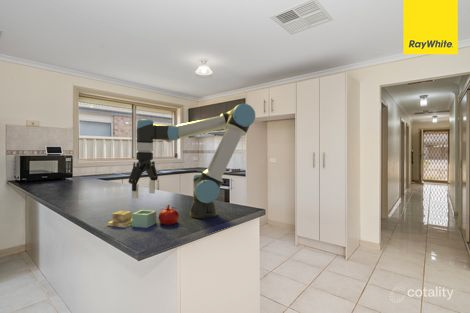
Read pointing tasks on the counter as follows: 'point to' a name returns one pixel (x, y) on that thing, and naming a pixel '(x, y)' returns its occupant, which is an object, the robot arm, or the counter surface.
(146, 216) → the cup block
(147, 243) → the counter surface
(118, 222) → the plate
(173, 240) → the counter surface
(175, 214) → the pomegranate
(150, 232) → the counter surface
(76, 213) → the counter surface
